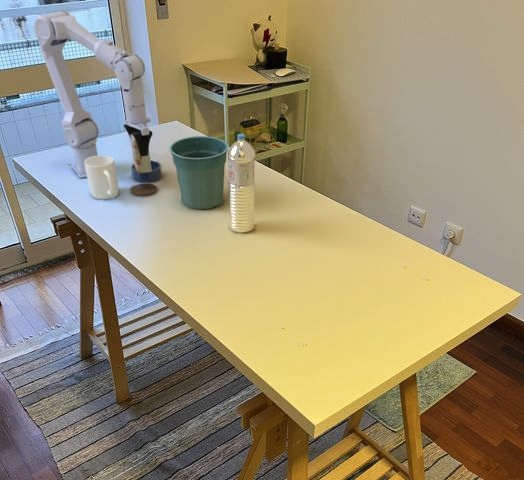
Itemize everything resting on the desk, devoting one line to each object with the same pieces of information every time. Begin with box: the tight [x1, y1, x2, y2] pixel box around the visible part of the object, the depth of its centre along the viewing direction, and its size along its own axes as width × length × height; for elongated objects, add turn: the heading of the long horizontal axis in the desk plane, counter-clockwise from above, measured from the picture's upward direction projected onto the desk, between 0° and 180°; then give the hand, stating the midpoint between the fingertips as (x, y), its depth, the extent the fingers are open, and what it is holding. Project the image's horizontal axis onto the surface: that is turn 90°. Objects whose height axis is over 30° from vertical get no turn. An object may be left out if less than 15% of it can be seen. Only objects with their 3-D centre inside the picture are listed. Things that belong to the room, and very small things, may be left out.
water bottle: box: [227, 133, 256, 234], centre depth 139 cm, size 7×7×25 cm
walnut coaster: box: [130, 183, 158, 197], centre depth 164 cm, size 8×8×1 cm
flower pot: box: [168, 135, 230, 210], centre depth 154 cm, size 16×16×16 cm
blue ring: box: [130, 159, 163, 184], centre depth 171 cm, size 9×9×4 cm
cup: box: [84, 154, 120, 200], centre depth 158 cm, size 8×12×10 cm
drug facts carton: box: [129, 135, 152, 173], centre depth 161 cm, size 5×4×10 cm
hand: (140, 152), depth 160 cm, fingers closed on drug facts carton, 5 cm apart
